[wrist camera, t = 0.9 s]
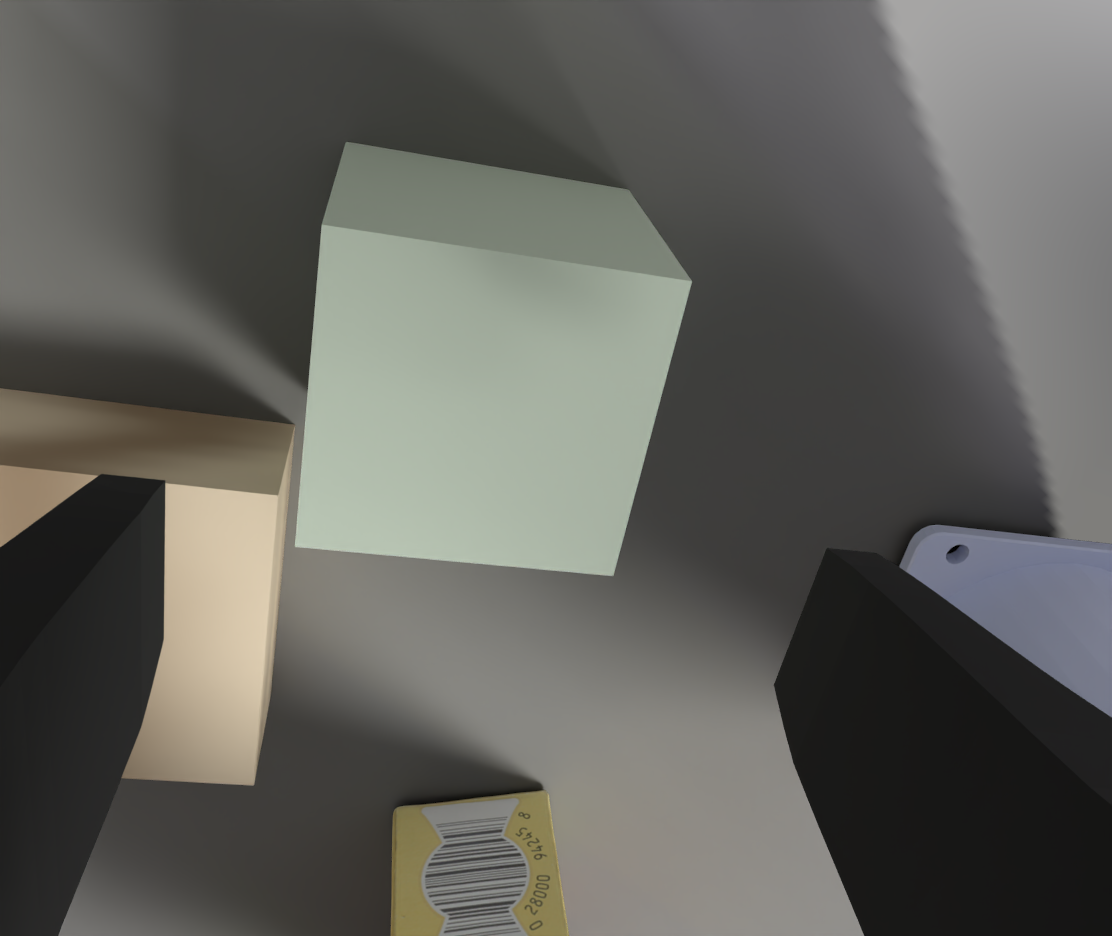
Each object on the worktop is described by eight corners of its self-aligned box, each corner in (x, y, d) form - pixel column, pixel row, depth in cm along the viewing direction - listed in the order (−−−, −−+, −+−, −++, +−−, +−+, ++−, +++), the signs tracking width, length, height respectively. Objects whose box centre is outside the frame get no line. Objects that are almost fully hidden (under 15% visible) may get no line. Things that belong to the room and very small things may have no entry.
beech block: (296, 417, 20) (278, 495, 17) (272, 685, 23) (253, 785, 21) (-93, 368, 19) (-176, 445, 16) (-60, 660, 22) (-125, 764, 19)
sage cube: (627, 188, 18) (691, 281, 14) (572, 432, 21) (613, 576, 16) (346, 140, 17) (321, 224, 13) (322, 402, 20) (295, 546, 15)
